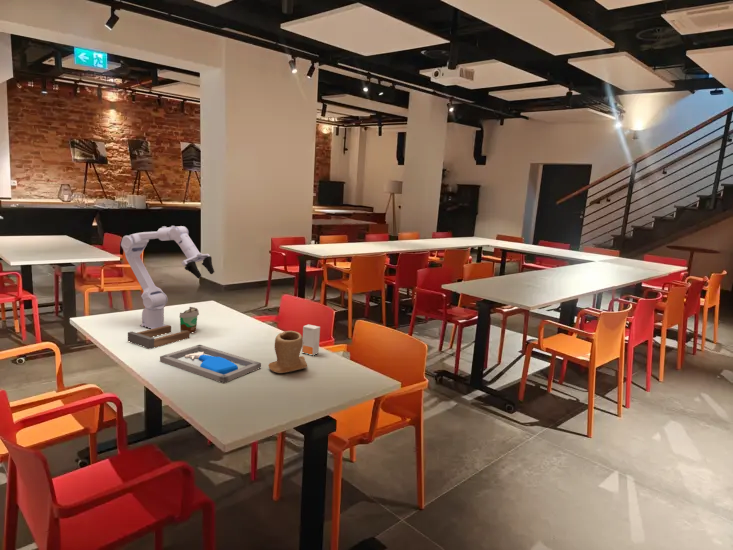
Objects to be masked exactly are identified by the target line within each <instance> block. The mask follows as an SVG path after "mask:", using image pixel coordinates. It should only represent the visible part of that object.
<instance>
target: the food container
mask: <svg viewBox="0 0 733 550" xmlns="http://www.w3.org/2000/svg"><path fill="white" fill-rule="evenodd" d="M199 315H200V312H199V309H198V308H197V307H195V306H194V307H193V306H189V309H187V310H184V311H183V312H179V326H180V332H182V331H186V330H187V331H190V334H193V333H192V332H194V333H196V332H197V324H198V316H199ZM195 331H196V332H195Z"/></svg>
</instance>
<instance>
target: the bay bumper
mask: <svg viewBox="0 0 733 550" xmlns="http://www.w3.org/2000/svg"><path fill="white" fill-rule="evenodd" d="M154 339H155V338H154V337H148V336H145V335H142V334H139V333H137V332H136V331H129V332H127V342H128V341H130V342H132V343H131V344H133V343H136V344H139V345H142V346H144V347H143V348H146V347H147V348H146V349H149V348H151V349H155V348H154ZM130 342H129V343H130ZM136 344H135V345H136ZM139 345H138V346H139ZM142 346H141V347H142Z"/></svg>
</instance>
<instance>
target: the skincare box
mask: <svg viewBox="0 0 733 550" xmlns="http://www.w3.org/2000/svg"><path fill="white" fill-rule="evenodd" d="M320 334H321V326H318V325H314V324H309V323H308V324H306V325H303V327H302V340H303V345H302V348H301V353H302V352H304V353H308V354H312V355H314V354H316V353H318V354H319V349H320V337H321V335H320Z"/></svg>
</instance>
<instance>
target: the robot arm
mask: <svg viewBox="0 0 733 550" xmlns="http://www.w3.org/2000/svg"><path fill="white" fill-rule="evenodd" d="M189 233H190V232H189V229H188V228H187V227H186V226H184V225H183V226H182V225H180V226H175V225H171V226H169V227H167V226H165V225H164V226H161V227H160V228H158V230H157V231H143V232H136V233H132V234H129V235H127V234H126V235H124V236H123V237H122V239H121V242H120V247H121V249H122V250H123V252H124V255H125V259H126V261H127V262H128V265H129V267H130V268H131V270H132V272H133V274H134V276H135V278H136V280H137V282H138V283H139V285H140V287H141V289H142V291H143V292H142V294H141V296H140V297H141V299H142V304H143V306H144V308H143V309H142V312H141V319H142V321H141V322H142V323H141V324H140V327H143V326H145V327H144V328H146V327H148V328H147V329H149V328H151V329H154V328H158V327H162V326H167V325H168V324H165V307H166V305H167V304H168V302H169V301H168V300H169V299H168V296H167V294H166V293H165V292H164V291H163V290H162V288H160V287H158V286H156V284H155V283H154V281H153V278H152V277H151V275H150V273H149V271H148V269H147V268H146V266H145V264H144V262H143V260H142V258H141V255H142V253H143V252H144V250H145V248H146V247H147V245H148V243H149V241H150V240H155V239H158V240H159V241H162V242H163V241H174V242H175V243H176V244H177V245H178V246H179V247H180V249H181V251H182V253H183V254H184V256H185V257H186V259H183V260H182V262H181V265H182V266H183V267H184V269H185V271H188V272H190V273H191V274H192V275H193V276H195V277H196V279H200V278H201V277H202V273H201V272H200V270H199V269H198V265H197V264H196V263H197V262H201V261H202V263H201V265H202V266H203V267H204V268H205V269H206V271H208V273H209V274H210V275H213V274H214V273H215V269H214V266H213V259H212V256H211V255H210V254H209V253H202V252H200V251H199V249H198V248H197V246H196V244H195V243H194V242H193V240H192V238H191V237H190V236H189Z"/></svg>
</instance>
